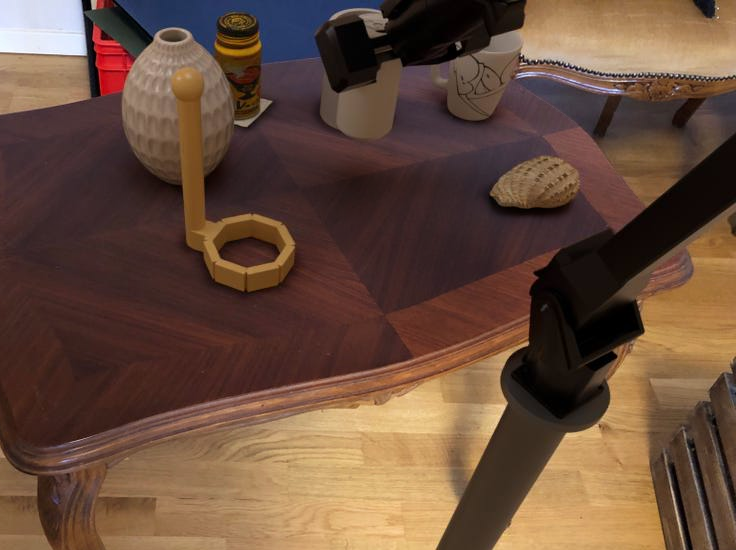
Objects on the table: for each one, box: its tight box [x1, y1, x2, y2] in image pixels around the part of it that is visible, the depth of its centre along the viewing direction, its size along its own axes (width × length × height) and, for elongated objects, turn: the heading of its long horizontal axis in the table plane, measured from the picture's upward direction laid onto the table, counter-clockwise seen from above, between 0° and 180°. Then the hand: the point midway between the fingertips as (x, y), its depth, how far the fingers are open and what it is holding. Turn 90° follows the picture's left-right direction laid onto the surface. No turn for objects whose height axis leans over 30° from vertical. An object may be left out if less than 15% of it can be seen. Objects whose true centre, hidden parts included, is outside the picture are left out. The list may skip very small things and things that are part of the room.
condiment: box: [213, 11, 273, 128], centre depth 92 cm, size 7×8×12 cm
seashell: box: [488, 154, 581, 209], centre depth 83 cm, size 8×6×10 cm
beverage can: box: [336, 13, 404, 142], centre depth 77 cm, size 6×6×12 cm
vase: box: [121, 27, 235, 186], centre depth 81 cm, size 13×13×17 cm
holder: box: [171, 67, 296, 293], centre depth 70 cm, size 13×9×20 cm
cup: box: [319, 7, 382, 131], centre depth 91 cm, size 9×9×12 cm
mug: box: [429, 30, 524, 122], centre depth 94 cm, size 11×8×10 cm
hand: (364, 69), depth 77 cm, fingers closed on beverage can, 6 cm apart
